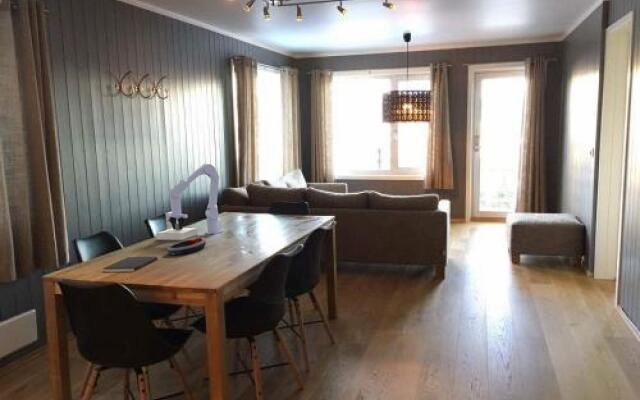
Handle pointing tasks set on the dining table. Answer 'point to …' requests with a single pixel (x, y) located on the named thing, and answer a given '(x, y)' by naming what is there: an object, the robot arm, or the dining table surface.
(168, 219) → the supplement box
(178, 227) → the flap
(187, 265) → the dining table surface
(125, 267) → the hardcover book
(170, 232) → the carton
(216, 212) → the robot arm
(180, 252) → the dish
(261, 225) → the dining table surface
